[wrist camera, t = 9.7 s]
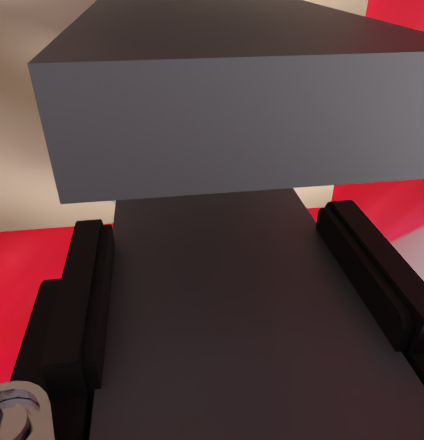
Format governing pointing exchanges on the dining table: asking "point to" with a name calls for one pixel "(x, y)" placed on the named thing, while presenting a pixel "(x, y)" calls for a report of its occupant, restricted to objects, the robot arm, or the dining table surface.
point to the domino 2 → (242, 330)
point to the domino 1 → (227, 99)
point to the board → (32, 128)
